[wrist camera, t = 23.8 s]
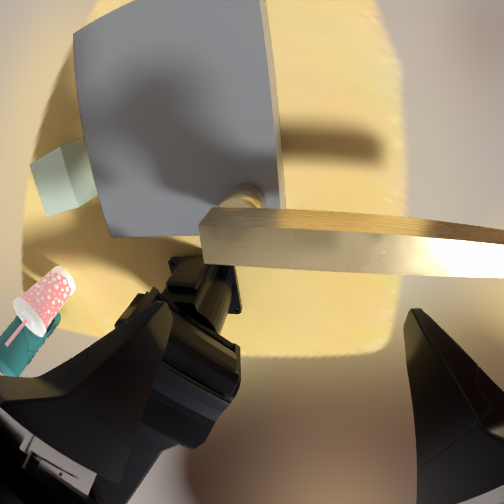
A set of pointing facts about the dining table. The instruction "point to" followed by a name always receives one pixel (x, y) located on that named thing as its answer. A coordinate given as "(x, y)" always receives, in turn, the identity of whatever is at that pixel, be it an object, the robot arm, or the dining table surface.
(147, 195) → the box
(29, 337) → the beverage bottle
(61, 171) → the rectangular block
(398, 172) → the dining table surface
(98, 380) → the robot arm
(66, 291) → the beverage cup
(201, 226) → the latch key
